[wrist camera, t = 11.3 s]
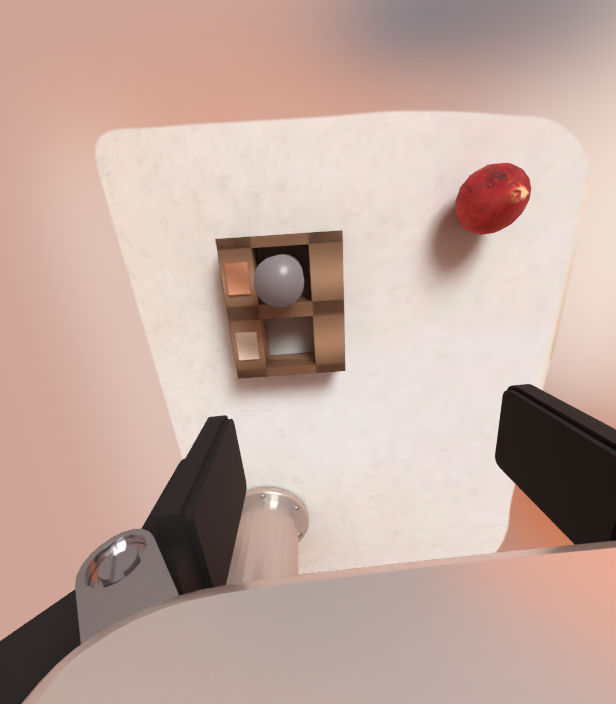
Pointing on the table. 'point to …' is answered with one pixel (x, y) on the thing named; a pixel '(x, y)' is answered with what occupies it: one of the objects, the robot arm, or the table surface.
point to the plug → (279, 280)
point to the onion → (492, 198)
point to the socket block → (252, 312)
